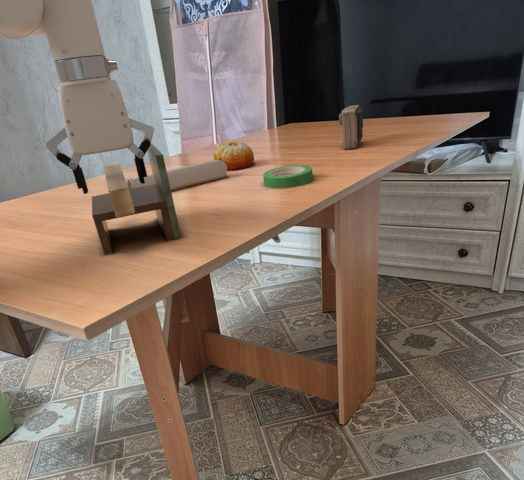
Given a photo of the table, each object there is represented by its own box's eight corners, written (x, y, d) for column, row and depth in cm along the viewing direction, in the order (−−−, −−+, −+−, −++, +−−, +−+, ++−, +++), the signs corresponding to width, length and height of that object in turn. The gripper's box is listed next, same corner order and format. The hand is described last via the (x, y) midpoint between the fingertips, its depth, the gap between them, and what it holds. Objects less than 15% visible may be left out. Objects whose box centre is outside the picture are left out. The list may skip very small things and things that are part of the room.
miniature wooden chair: (105, 256, 78) (77, 170, 71) (103, 232, 91) (79, 156, 83) (182, 239, 81) (162, 154, 74) (169, 218, 93) (152, 143, 86)
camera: (345, 142, 140) (344, 105, 134) (365, 141, 138) (365, 103, 132) (338, 150, 131) (337, 111, 125) (359, 149, 129) (359, 109, 124)
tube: (219, 159, 120) (125, 180, 111) (226, 154, 115) (129, 175, 106) (225, 181, 121) (132, 203, 112) (233, 176, 116) (136, 199, 107)
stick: (116, 217, 72) (108, 191, 70) (110, 188, 91) (103, 166, 89) (135, 213, 72) (128, 187, 70) (125, 185, 92) (119, 163, 90)
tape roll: (286, 191, 100) (285, 179, 98) (254, 186, 107) (253, 174, 106) (323, 179, 105) (322, 167, 104) (290, 175, 113) (289, 163, 111)
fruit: (207, 172, 126) (205, 140, 124) (227, 174, 135) (226, 144, 133) (243, 170, 121) (242, 136, 119) (261, 172, 130) (261, 141, 128)
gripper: (137, 66, 76) (161, 175, 85) (27, 80, 73) (63, 192, 82) (142, 65, 70) (166, 182, 79) (21, 80, 67) (61, 201, 76)
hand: (114, 187), depth 81 cm, fingers open, 9 cm apart
